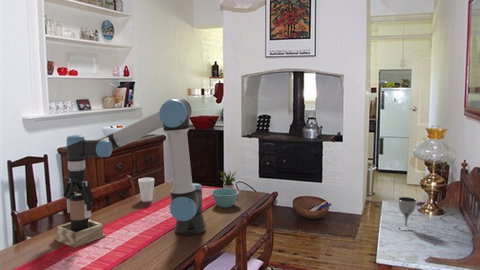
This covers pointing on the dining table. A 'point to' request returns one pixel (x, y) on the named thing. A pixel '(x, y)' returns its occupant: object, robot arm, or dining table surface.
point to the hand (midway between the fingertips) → (79, 214)
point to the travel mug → (77, 212)
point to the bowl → (225, 197)
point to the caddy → (79, 234)
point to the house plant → (228, 180)
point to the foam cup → (146, 189)
